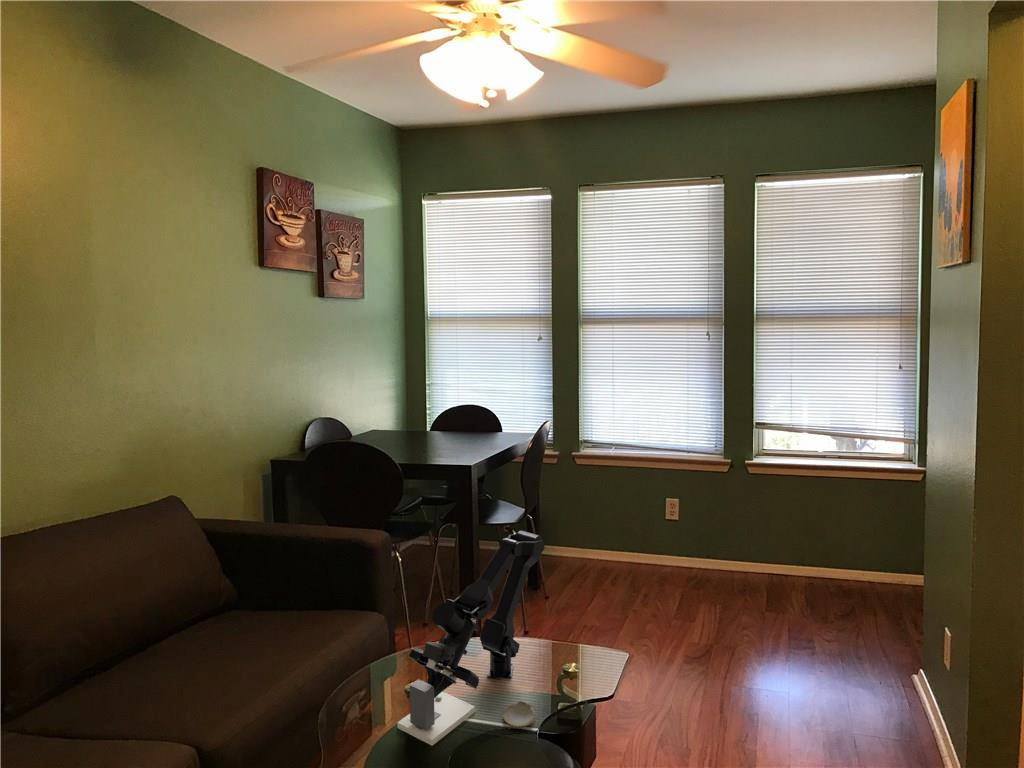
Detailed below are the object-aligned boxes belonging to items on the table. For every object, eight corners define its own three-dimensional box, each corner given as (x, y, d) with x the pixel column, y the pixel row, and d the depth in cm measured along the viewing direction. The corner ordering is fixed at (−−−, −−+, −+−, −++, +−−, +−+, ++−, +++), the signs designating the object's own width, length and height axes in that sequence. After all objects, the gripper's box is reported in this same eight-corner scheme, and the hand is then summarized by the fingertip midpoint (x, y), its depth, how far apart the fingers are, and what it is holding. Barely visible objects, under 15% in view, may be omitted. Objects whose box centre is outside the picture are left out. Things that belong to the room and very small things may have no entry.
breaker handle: (418, 716, 196) (418, 679, 193) (434, 724, 193) (434, 686, 191) (410, 722, 193) (409, 684, 191) (426, 730, 190) (425, 692, 188)
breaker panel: (441, 696, 207) (441, 689, 207) (475, 711, 201) (475, 704, 200) (397, 728, 194) (397, 720, 194) (432, 745, 188) (432, 738, 188)
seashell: (499, 728, 198) (525, 734, 193) (495, 718, 197) (521, 723, 192) (518, 707, 204) (543, 712, 199) (515, 697, 203) (540, 701, 198)
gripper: (412, 616, 199) (381, 677, 193) (471, 640, 189) (441, 705, 182) (433, 633, 207) (404, 692, 201) (492, 656, 197) (463, 719, 190)
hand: (427, 701), depth 193 cm, fingers closed
